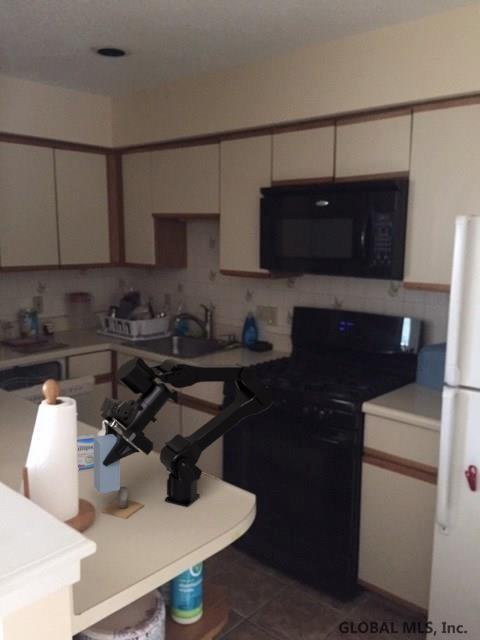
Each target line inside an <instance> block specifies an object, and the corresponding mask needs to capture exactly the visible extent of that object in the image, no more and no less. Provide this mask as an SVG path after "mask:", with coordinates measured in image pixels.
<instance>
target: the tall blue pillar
mask: <svg viewBox="0 0 480 640" xmlns="http://www.w3.org/2000/svg"><path fill="white" fill-rule="evenodd" d="M93 441H94V468H93V485H94V486H93V487H94V488H95V489H96V491H97V492H98V493H99V494H100V495H102V494H106V493H111V492H115V491H118V490H120V487H121V486H120V485H121V484H120V483H121V481H120V480H121V477H120V476H121V474H120V473H121V472H120V466H121V465H120V464H121V463H120V461H121V459H120V460H118V461H116V462H114V463H112V464H110V465H108V466H105V465H104V464H103V461H104V460H105V458H106V456H107V455H108V454H109V452H110V451H111V449H112V448H113V446H114V445H115V443H116V441H117V437H115V436H114V435H113V434H109V435H104V436H98V437H97V436H95V437H93Z"/></svg>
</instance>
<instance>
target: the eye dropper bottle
mask: <svg viewBox="0 0 480 640" xmlns="http://www.w3.org/2000/svg"><path fill="white" fill-rule="evenodd" d="M101 422H102V423H101V424H102V425H101V429H100V430H99V431H97V434H96V437H98V436H104V435H105V433H106V429H105V424H104V422H106V423H108V421H107V420H105V419H104V420H103V421H101Z"/></svg>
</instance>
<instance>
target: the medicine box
mask: <svg viewBox="0 0 480 640" xmlns="http://www.w3.org/2000/svg"><path fill="white" fill-rule="evenodd" d="M76 435H77V444H78V468H79V470H78V471H83V470H89V469H94V441H93V437H96V436H95V434H94V433H93V432H92V433H84V434H76Z"/></svg>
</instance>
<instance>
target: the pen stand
mask: <svg viewBox="0 0 480 640" xmlns="http://www.w3.org/2000/svg"><path fill="white" fill-rule="evenodd" d="M117 495H118V496H117V499H116V500H114V501H112V502H111V503H109V504H108V505H106V506H105V507H103V508H102V509H100V512H101V513H103V514H108V515H110V516H115V517H118V518H121V519H125V520H127V519H129V518H130V517H132V516H133V515H134V514H136V513H137V512H139V511H140V510H141V509H142V508H144V507H145V503H141V502H137V501H133V500H131V499H130V500H129V488H128V487H127V486H120V490H117Z"/></svg>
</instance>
